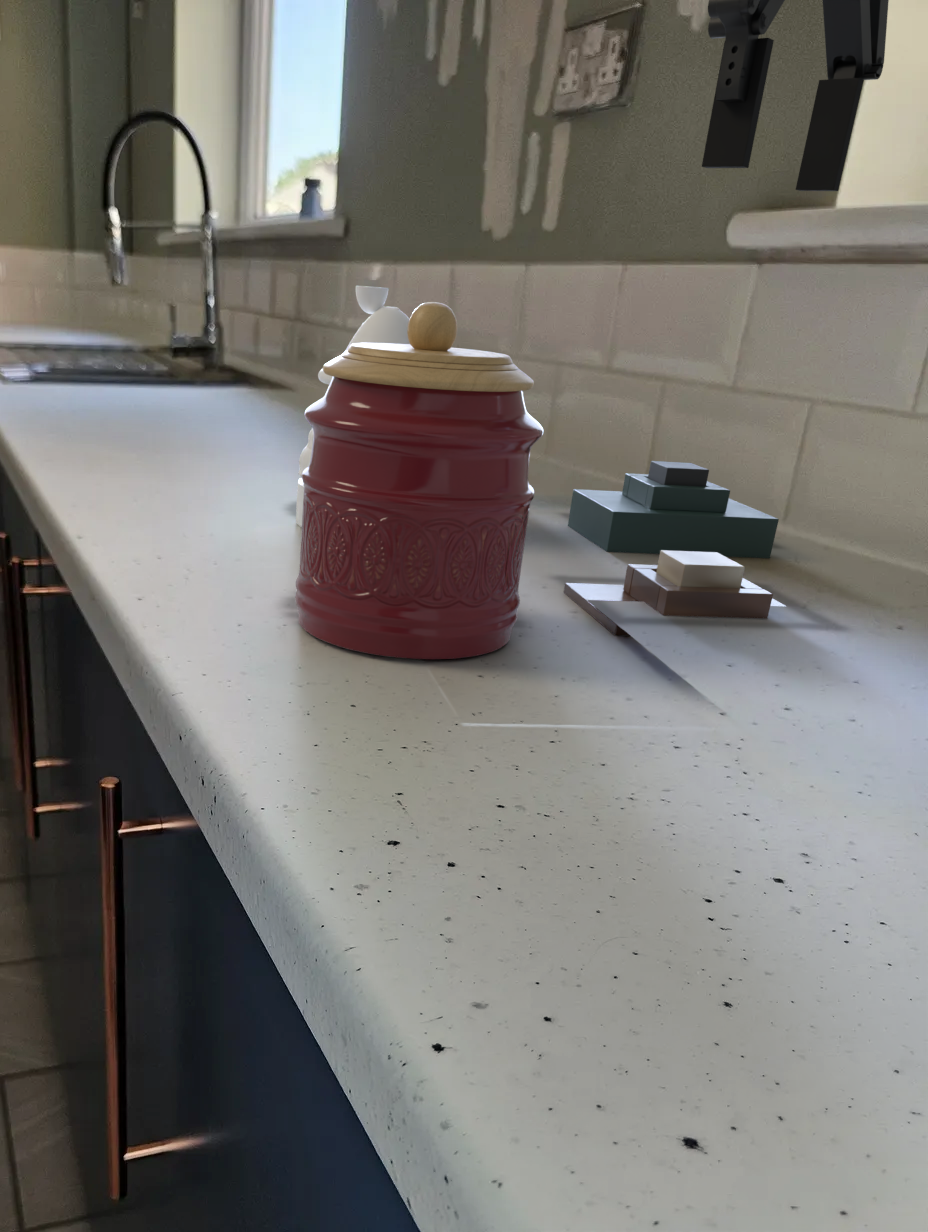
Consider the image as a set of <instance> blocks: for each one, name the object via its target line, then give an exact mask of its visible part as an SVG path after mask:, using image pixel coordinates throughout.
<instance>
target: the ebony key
mask: <svg viewBox="0 0 928 1232" xmlns="http://www.w3.org/2000/svg"><path fill="white" fill-rule="evenodd" d="M709 473H710V469H708V468H706V467H703V466H700V465H698V464H695V463H692V462H684V461H683V462H682V461H681V462H680V461H661V460H651V461H650V465H649V469H648V474H649V475H648V479H650V480H653V481H655V482H657V483H659V484H661V485H678V486H698V487H706V484H707V481H708V478H709Z"/></svg>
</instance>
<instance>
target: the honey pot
mask: <svg viewBox="0 0 928 1232" xmlns="http://www.w3.org/2000/svg"><path fill="white" fill-rule="evenodd" d="M389 290H390V287H380V286H366V285H355V297H356V302H357V304H358V306H359V308H360V309H361V310H362V311H363V312H364V313H366V314H369V316H368V317H367V318H366V319H365V320H364V322H362V324H361V325H360V326H359V328H358V329H357V330H356V332H355V334H354V335H353V336H352V338H351V340H350V341H349V343H348V345H347V346H346V349H345V350H344V352H346V351H347V350H348V348H349V347H350V346H351V345H352V344H355V343H391V344H410V342H409V339H408V334H407V328H408V322H409V319H410V316H408V315H407V314H406V313H405V312H404V311H402V310H401V308H400V307H397V306H387V305H385V304H386V301H387V299H388V295H389V292H390V291H389ZM332 377H333V376H330V375H327V374H325V373H324V371H323V368H321V369H320V370H319V371H318V373H317V378H318V380H319V382H321V383H323V384H324V385H328V386H327V389H326V392H327V390H328V388H329V385H330V383H331V380H332ZM326 392H325V393H326ZM307 436H308V437H307V439H308V442H307V444H306V446H305V447H303V449H302V451H301V452H300V455H299V459H298V465H299V470H298V476H300V477H299V478H298V481H297V487H296V489H297V491H296V508H295V509H296V511H295V523H296V525H298V526H299V527H300V528H302V515H303V496H304V483H303V481H302V473H303V471H304V470H305V469H306V468H307V467H309V465H310V461H311V454H312V447H313V438H314V431H313V428H312V427H311V429H310V430H309V433H308V435H307Z"/></svg>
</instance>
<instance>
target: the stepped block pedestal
mask: <svg viewBox="0 0 928 1232" xmlns="http://www.w3.org/2000/svg"><path fill="white" fill-rule="evenodd" d="M657 566H658V564H642V563H641V564H637V563H633V564H632V563H628V564H627V567H626V570H625V571H626V572H625V578H624V583H623V584H612V583H611V584H607V583H581V582H580V583H579V582H565V583H564V586H563V594H565V595H566V596H567V597H568V598H569V599H571V600H572V601H573V602H574V603H575V604H577V605H578V607H580V608H581V609H582V610H583V611H585V612H586V613H587V614H588V615H590V616H591V617H592V618H593V619H595V620H596V621H597V622H598V623H599V624H600V625H602V626H603V627H604V628H605V629H606V630H608V631H609V632H610V634H612V635H614V636H619V637H620V636H621V637H622V636H623V637H631V636H632V635H631V634H629V633H628V632H627V631H626V630H624V628H622V627H621V626H620V625H618V624H617V623H616V622H615V621H613V620H612V619H611V618H610V617H608V616H607V615H606V614H605V613H604V612H602V611H601V610H600V609H598V608H597V607H596V606H595V605H593V603H591V602H590V601H609V602H610V601H612V602H613V601H614V602H638V603H639V602H640V603H641V602H642V603H645V604H646V605H648V606H649V607H650V608H652V609H654V611H656V612H658V613H659V614H661V615H662V616H665V617H666V616H667V617H669V616H670V617H697V618H698V617H699V618H701V617H703V618H729V619H730V618H731V619H759V620H761V619H762V620H763V619H764V620H767V619H768V618H769V613H770V609H771V607H786V604H784V603H782V602H780V601H778V600H776V599H774V598H773V596H774V594H773V593H771V592H770V591H768V590H766V589H764V588H762V587H760V586H759V585H757V584H755V583H753V582H751V581H749V580H748V579H746V578H744V577H743V578H742V583H741V587H740V588H712V587H683V586H677V585H675V584H673V583H672V582H670V581H669V580H667V579H666V578H664V577H662V576H661V575H659V574H658V573H656V571H657Z"/></svg>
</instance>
